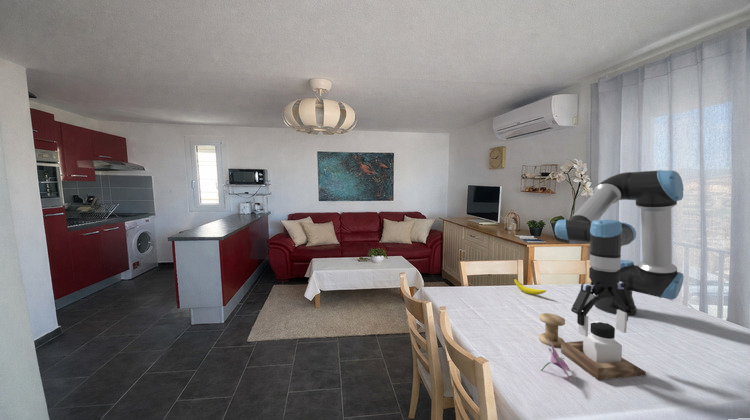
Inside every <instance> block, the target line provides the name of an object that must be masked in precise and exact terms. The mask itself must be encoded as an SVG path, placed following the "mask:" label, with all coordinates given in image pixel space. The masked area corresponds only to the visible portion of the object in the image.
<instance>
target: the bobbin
mask: <svg viewBox="0 0 750 420" xmlns="http://www.w3.org/2000/svg"><path fill="white" fill-rule="evenodd" d="M538 318H539V320H540V321H541V322H542V323H545V325H544V326H545V333H540V334H539V335H538V339H539V341H540V342H541V343H542V344H543V345H546V346H549V347H551V344H550V342H549V340H550V341H551V343H552V345H553V346H554V348H561V343H564V342H565V340H564V339H563V338H562V337H560V336H559V327H562V326H563V327H564V326H565V324H566V319H565V318H564V317H562V316H560V315H558V314H554V313H549V312H545V313H543V312H542V313H540V314H539V317H538ZM546 336H547V337H548V339H549V340H548V339H547V337H546Z"/></svg>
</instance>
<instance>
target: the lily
mask: <svg viewBox="0 0 750 420" xmlns="http://www.w3.org/2000/svg"><path fill="white" fill-rule="evenodd" d="M546 337H547V336H546ZM547 339H548V337H547ZM548 340H549V339H548ZM549 342H550V344H551V346H550V347H548V351H549V352H550V353H551V354H550V361H549V362H547V363H546V364H544V366H543V367H542V368H541V371H544V369H545V368H546V367H547V366H548V365H550V364H553V365H555V366H556V367H558V368H560V369H561V370H562V371H563V372H564V374H565V375H566V376H567V377H568V379H569V380H570V383H573V382H572V380H571V376H570V375H569V374H568V372H567V371H569V372H571V369H570V367H569V366H568V364H567V363H566V361H565V358H564V357H563V356H561V357H560V356H559V354H558V352H557V350H556V348H555V347H554V346H553V345H552V343H551V341H550V340H549Z"/></svg>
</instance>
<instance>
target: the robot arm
mask: <svg viewBox="0 0 750 420" xmlns="http://www.w3.org/2000/svg"><path fill="white" fill-rule="evenodd" d="M683 198H684V184H683V179H682V177H681V175H680V173H678V172H677V171H676V170H661V169H659V170H645V171H634V172H633V171H628V172H627V171H625V172H622V173H621V172H620V173H618V174H615V175H612V176H610V177H608V178H606V179H604V180H602V181H601V182H600V183H598V184H597V185H596V186H595V187H594V188H593V190H592V194H591V195H590V196H589V197H588V199H587V200H585V201H584V203H583V204H582V205H581V206H580V207H579V208H578V209H577V211H575V213H573V215H572V216H571V217H570V218H569V219H565V218H564V219H559V220H557V221H556V223H555V224H554V233H555V236H556V238H558V239H562V240H566V241H574V242H582V243H589V245H590V246H589V266H590V267H589V271H588V277H589V279H590V284H586V283H583V282H582V283H581V284H580V285H581V286H580V290H579V292H578V294H577V296H576V298H575V301H574V303H573V305H572V307H571V309H570V310H571V312H572V313H574V314H576V315H577V317H576V319H577V320H576V322H577V324H578V333H579V334H580V335H582V336H583V337H584V336H585V337H587V336H588V333H589V316H588V315H587V314H588V313H589V312H590V311H591V309H592V308H593V307H595V308H597V309H599V310H601V311H603V312H606V313H610V314H614V315H616V318H615V320H616V321H615V330H618V331H620V332H621V333H624V334H626V333H627V328H628V326H627V324H628V320H629V316H635V315H637V312H638V311H637V310H638V309H637V306H636V305H635V300H634V297H633V292H635V293H639V294H644V295H648V296H652V297H657V298H660V299H662V298H663V299H667V300H675V299H676V298H678V296H679V294H680V291H681V289H682V287H683V282H684V277H685V276H684V273H683V272H681V271H678V266H677V265H675V264H674V263H672V262H673V261H672V260H673V259H672V257H673V256H672V255H673V254H672V253H673V251H672V248H673V247H672V208H674V207H675V206H677V205H678V202H680V201H681V200H683ZM623 200H629V201H635V206H637V207H638V208H639V209H640V221H641V222H640V223H641V225H640V226H641V252H642V253H641V256H642V257H641V258H642V260H641V261H639V262H637V265H635V263H634V261H632V260H629V259H621V256H622V255H621V254H622V253H621V252H622V247H623V246H626V245H627V246H628V245H629V244H631V243H632V242H634V240H636V237H637V231H636V229H635V228H634V227H633V226H632V225H631V224H630V223H627V222H621V221H619V220H615V219H601V217H603V215H604V214H605V213H606V212H607V210H609V208H610V207H611V206H612V205H613V204H616V203H617V202H619V201H623Z"/></svg>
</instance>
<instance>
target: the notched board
mask: <svg viewBox="0 0 750 420" xmlns="http://www.w3.org/2000/svg"><path fill="white" fill-rule="evenodd" d="M560 353H561V354H562V355H564V357H565V358H568V359H569V360H570V361H571V362H573V363H574V364H575V365H577V366H578V367H580V368H581V369H582V370H584V372H586V373H588V374H589V375H590V376H592V377H593V378H594V377H595V379H596V380H598V381H601V380H603V381H604V380H612V379H613V378H614V379H622V378H623V379H624V378H635V377H643V376H646V375H647V372H646V371H645V370H644V369H642V368H640V366H637V365H635V364H634V363H632V362H630V361H629V360H627V359H626V358H624V357H621V362H612V363H601V364H598V363H596V362H595V361H593V360H592V359H591V358H589V357H588V356H586V355H585V354H584V353H583V340H578V341H567V342H565V341H564V343H561V347H560ZM614 379H613V380H614Z"/></svg>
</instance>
